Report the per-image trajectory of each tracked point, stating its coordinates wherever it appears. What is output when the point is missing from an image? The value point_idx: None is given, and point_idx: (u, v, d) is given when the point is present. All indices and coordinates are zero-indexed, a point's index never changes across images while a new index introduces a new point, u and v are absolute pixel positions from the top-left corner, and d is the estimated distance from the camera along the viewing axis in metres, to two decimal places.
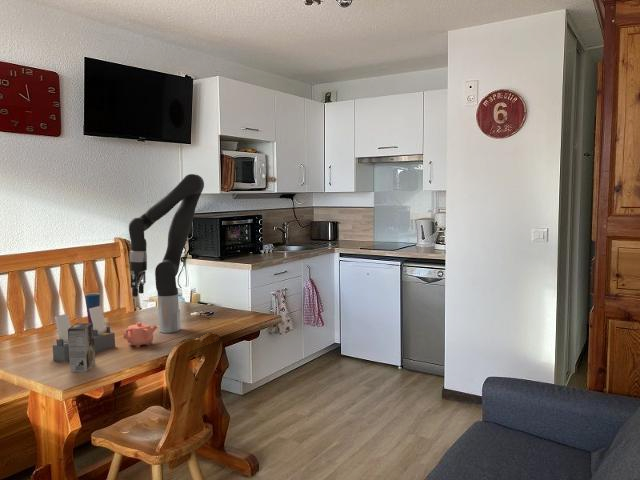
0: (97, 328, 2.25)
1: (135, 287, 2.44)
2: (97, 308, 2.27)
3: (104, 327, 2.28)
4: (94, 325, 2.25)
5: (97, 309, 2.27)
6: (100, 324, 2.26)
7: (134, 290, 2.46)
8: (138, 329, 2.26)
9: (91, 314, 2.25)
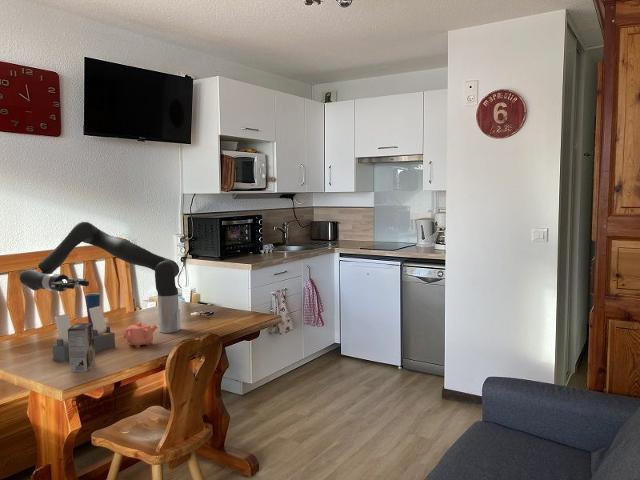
0: (97, 328, 2.25)
1: (60, 284, 2.27)
2: (97, 308, 2.27)
3: (104, 327, 2.28)
4: (94, 325, 2.25)
5: (97, 309, 2.27)
6: (100, 324, 2.26)
7: None
8: (138, 329, 2.26)
9: (91, 314, 2.25)
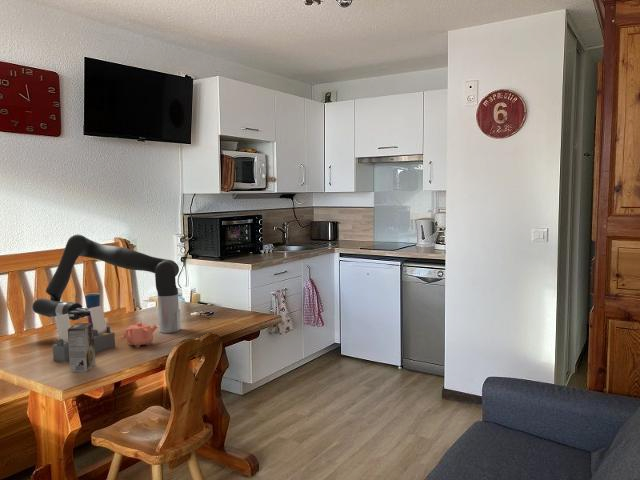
0: (97, 328, 2.25)
1: (82, 312, 2.27)
2: (98, 308, 2.27)
3: (104, 327, 2.28)
4: (94, 325, 2.25)
5: (98, 309, 2.27)
6: (100, 324, 2.26)
7: (89, 314, 2.28)
8: (138, 329, 2.26)
9: (91, 314, 2.25)
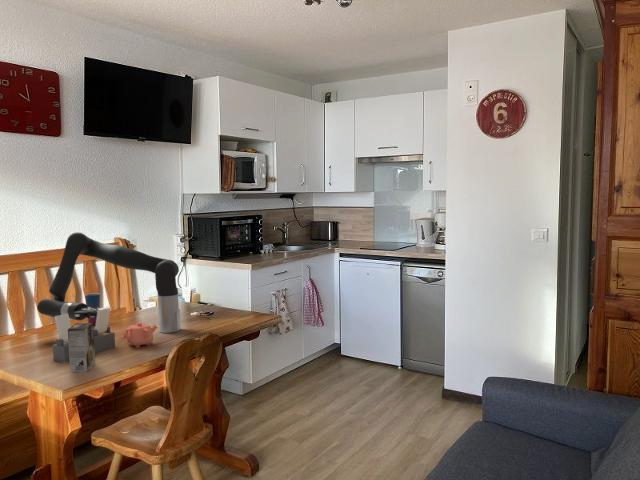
0: (98, 329, 2.24)
1: (87, 312, 2.25)
2: (106, 310, 2.25)
3: (105, 328, 2.28)
4: (97, 326, 2.24)
5: (105, 311, 2.25)
6: (103, 325, 2.26)
7: (94, 314, 2.26)
8: (138, 329, 2.26)
9: (98, 315, 2.23)
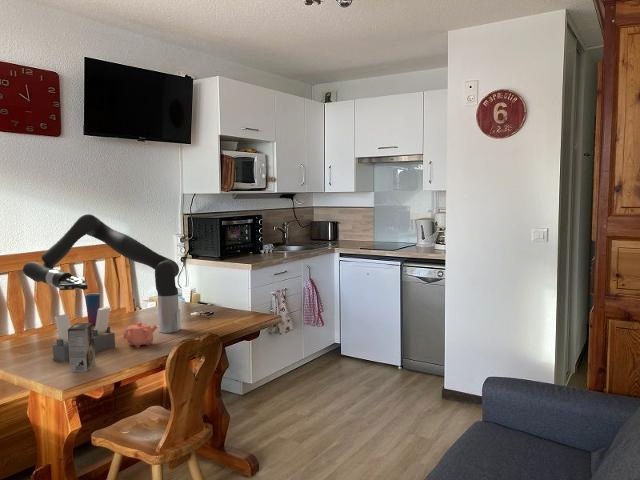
0: (98, 329, 2.24)
1: (72, 285, 2.30)
2: (106, 310, 2.25)
3: (105, 328, 2.28)
4: (97, 326, 2.24)
5: (105, 311, 2.25)
6: (103, 325, 2.26)
7: (79, 286, 2.31)
8: (138, 329, 2.26)
9: (98, 315, 2.23)
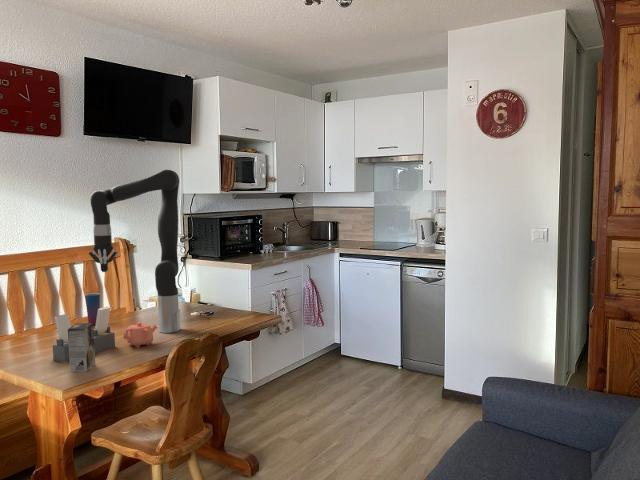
0: (98, 329, 2.24)
1: None
2: (106, 310, 2.25)
3: (105, 328, 2.28)
4: (97, 326, 2.24)
5: (105, 311, 2.25)
6: (103, 325, 2.26)
7: None
8: (138, 329, 2.26)
9: (98, 315, 2.23)
